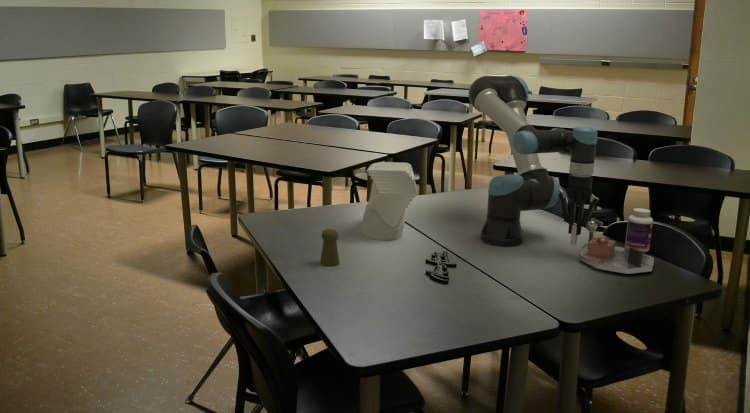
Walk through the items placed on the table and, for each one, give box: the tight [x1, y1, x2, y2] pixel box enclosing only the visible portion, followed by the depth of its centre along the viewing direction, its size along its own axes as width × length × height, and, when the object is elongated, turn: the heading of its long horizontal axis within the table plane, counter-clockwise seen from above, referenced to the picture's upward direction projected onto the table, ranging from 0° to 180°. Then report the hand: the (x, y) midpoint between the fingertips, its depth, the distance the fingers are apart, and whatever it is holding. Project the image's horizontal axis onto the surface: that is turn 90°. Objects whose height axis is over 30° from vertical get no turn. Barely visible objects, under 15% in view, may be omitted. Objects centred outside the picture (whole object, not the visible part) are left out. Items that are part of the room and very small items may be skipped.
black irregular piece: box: [424, 250, 458, 285], centre depth 197 cm, size 27×2×10 cm
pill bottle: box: [624, 207, 654, 253], centre depth 219 cm, size 8×8×14 cm
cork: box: [319, 228, 340, 268], centre depth 198 cm, size 6×6×11 cm
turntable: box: [578, 245, 655, 275], centre depth 204 cm, size 22×22×7 cm
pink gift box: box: [588, 236, 616, 258], centre depth 207 cm, size 7×7×5 cm
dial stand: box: [581, 217, 604, 250], centre depth 217 cm, size 6×6×11 cm
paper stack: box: [362, 161, 419, 241], centre depth 229 cm, size 21×27×26 cm
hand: (573, 243), depth 211 cm, fingers closed
